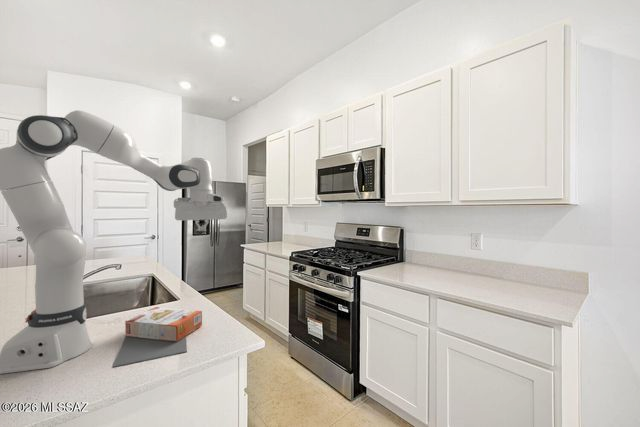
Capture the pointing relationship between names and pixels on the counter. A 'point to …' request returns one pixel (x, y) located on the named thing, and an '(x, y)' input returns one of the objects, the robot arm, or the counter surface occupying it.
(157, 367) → the counter surface
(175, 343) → the mat
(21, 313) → the counter surface
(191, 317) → the cracker box
